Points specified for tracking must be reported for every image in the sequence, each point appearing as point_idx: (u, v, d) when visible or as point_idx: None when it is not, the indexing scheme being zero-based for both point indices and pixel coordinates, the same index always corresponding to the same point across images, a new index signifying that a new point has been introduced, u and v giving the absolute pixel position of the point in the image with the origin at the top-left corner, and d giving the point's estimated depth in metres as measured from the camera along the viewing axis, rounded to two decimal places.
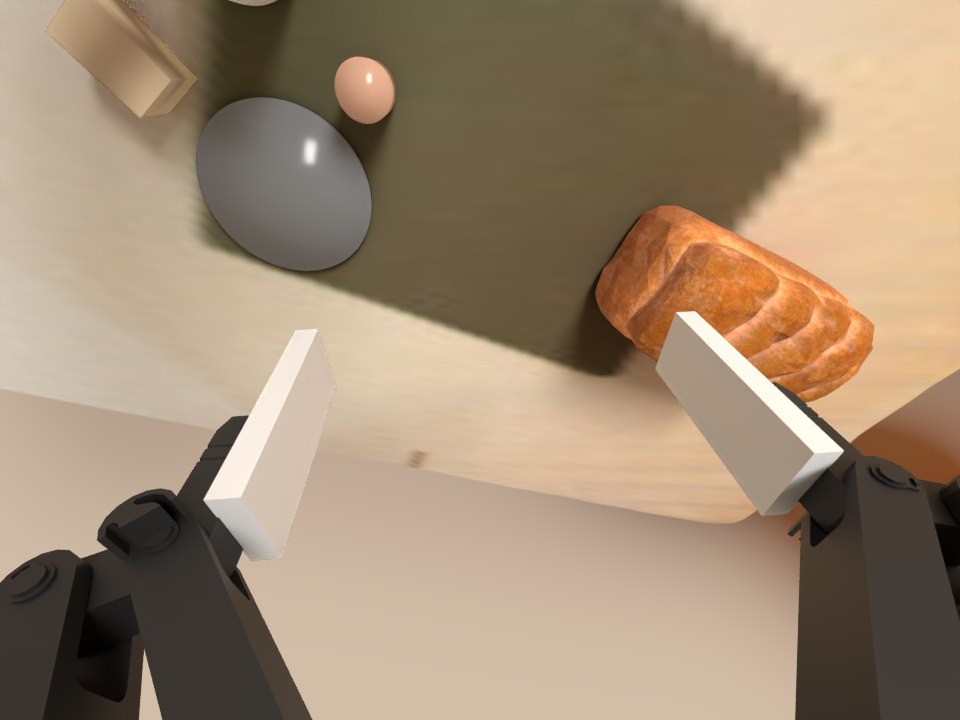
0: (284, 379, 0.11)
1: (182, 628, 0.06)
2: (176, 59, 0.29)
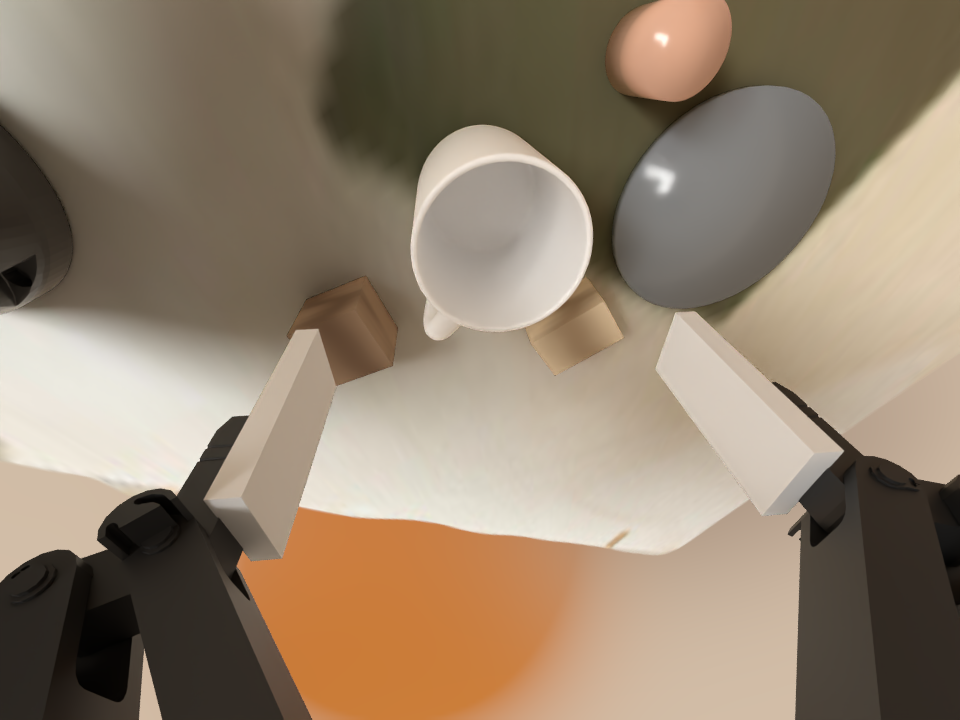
0: (284, 379, 0.11)
1: (182, 628, 0.06)
2: None
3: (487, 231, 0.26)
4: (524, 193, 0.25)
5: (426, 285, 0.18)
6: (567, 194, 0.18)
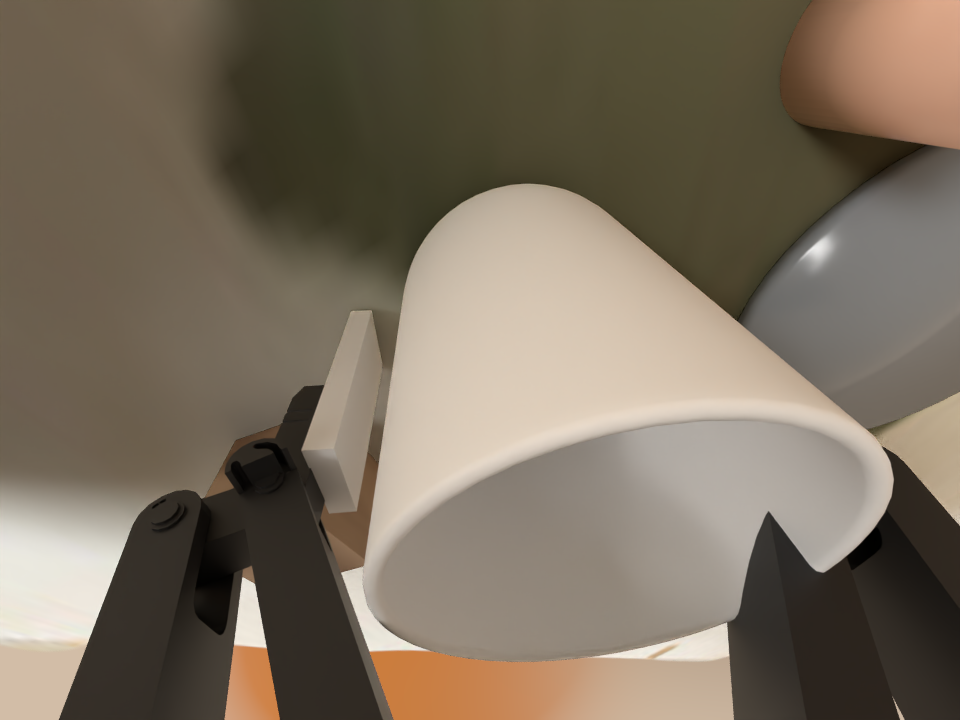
0: (350, 353, 0.12)
1: (283, 562, 0.07)
2: None
3: None
4: None
5: (411, 617, 0.07)
6: None
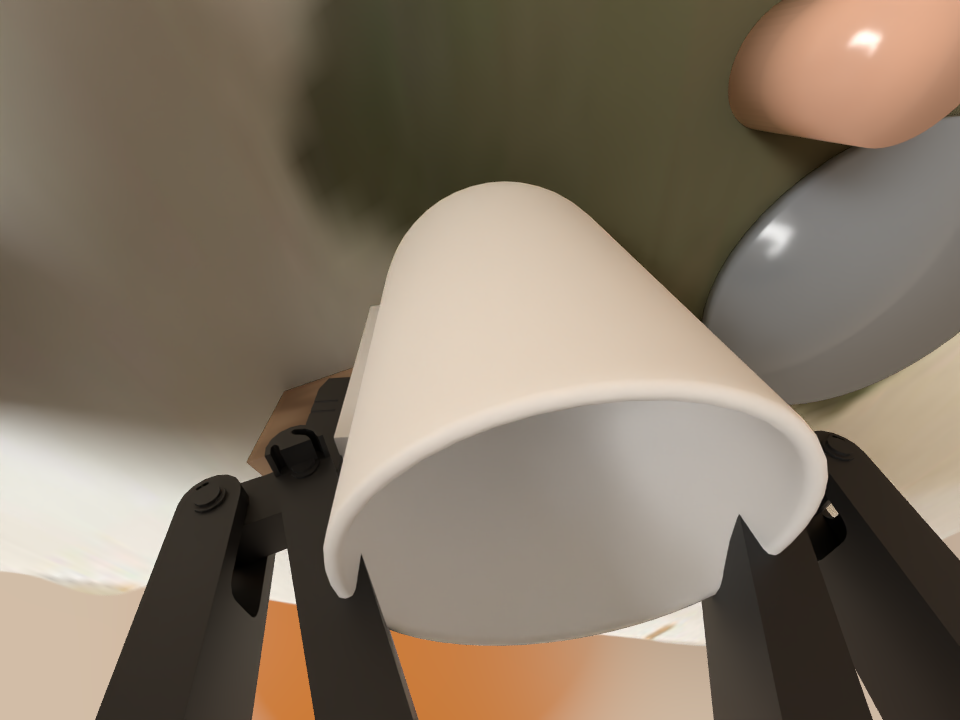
0: None
1: (316, 545, 0.07)
2: None
3: None
4: None
5: (379, 600, 0.07)
6: None
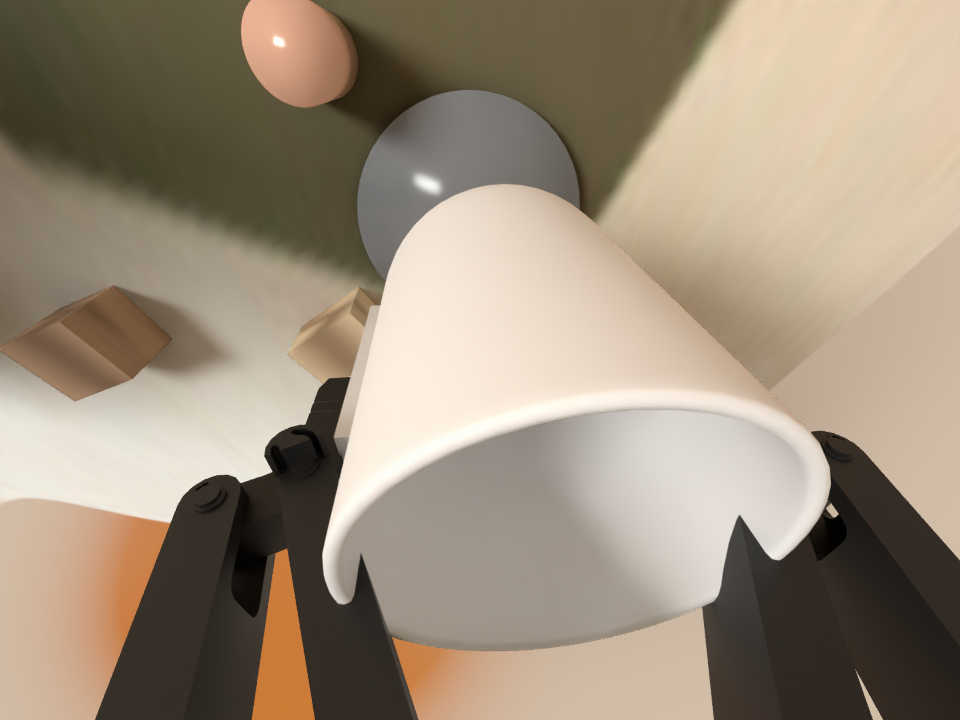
0: None
1: (316, 545, 0.07)
2: (343, 299, 0.29)
3: None
4: None
5: None
6: None
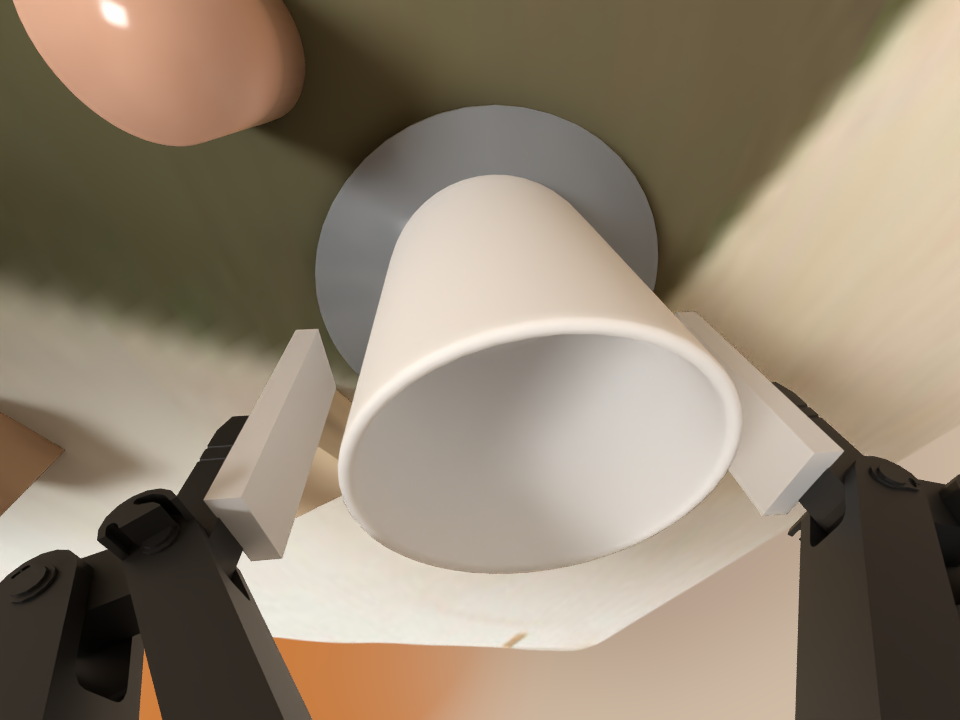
0: (284, 379, 0.11)
1: (182, 628, 0.06)
2: None
3: None
4: None
5: (384, 524, 0.09)
6: None
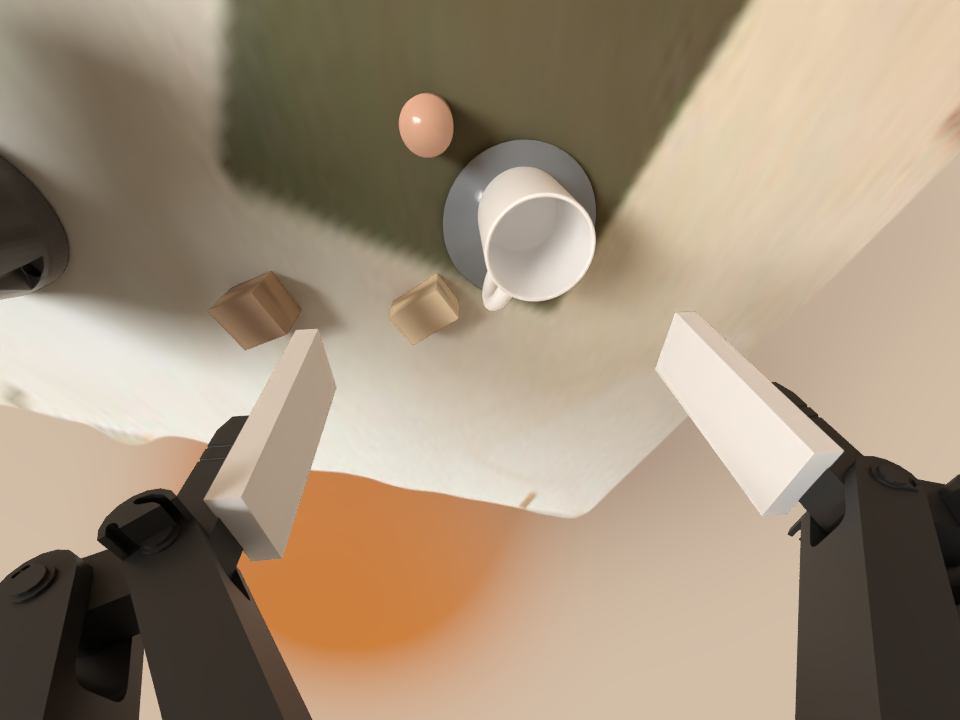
0: (284, 379, 0.11)
1: (182, 628, 0.06)
2: (425, 281, 0.40)
3: (524, 236, 0.37)
4: (551, 209, 0.36)
5: (492, 271, 0.29)
6: (579, 212, 0.28)
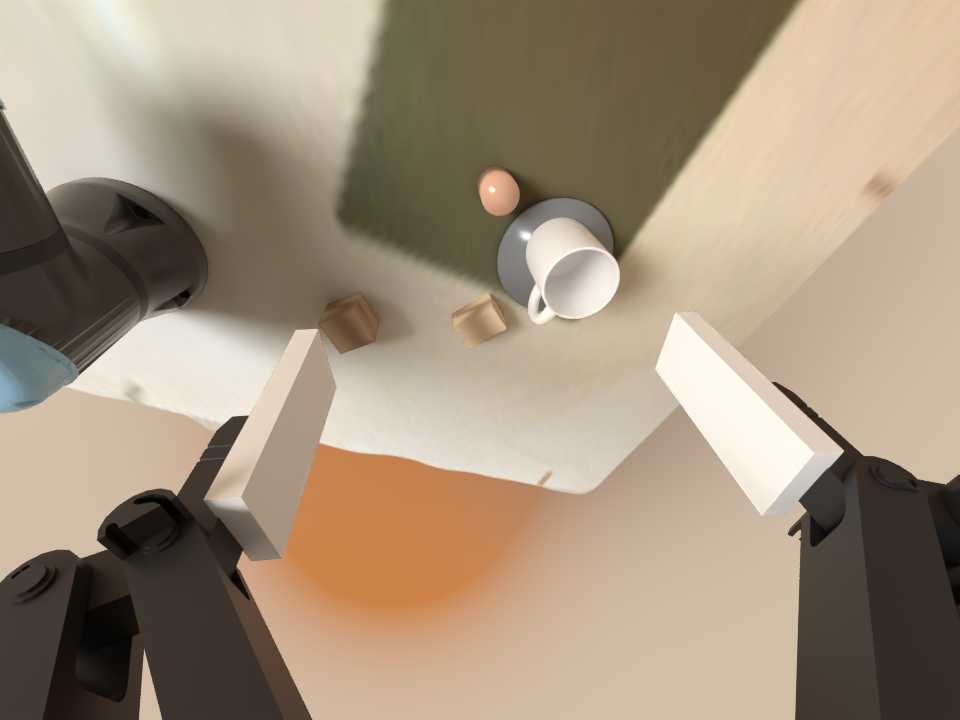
0: (284, 379, 0.11)
1: (182, 628, 0.06)
2: (480, 299, 0.52)
3: (559, 266, 0.49)
4: None
5: (545, 298, 0.41)
6: (608, 257, 0.40)
